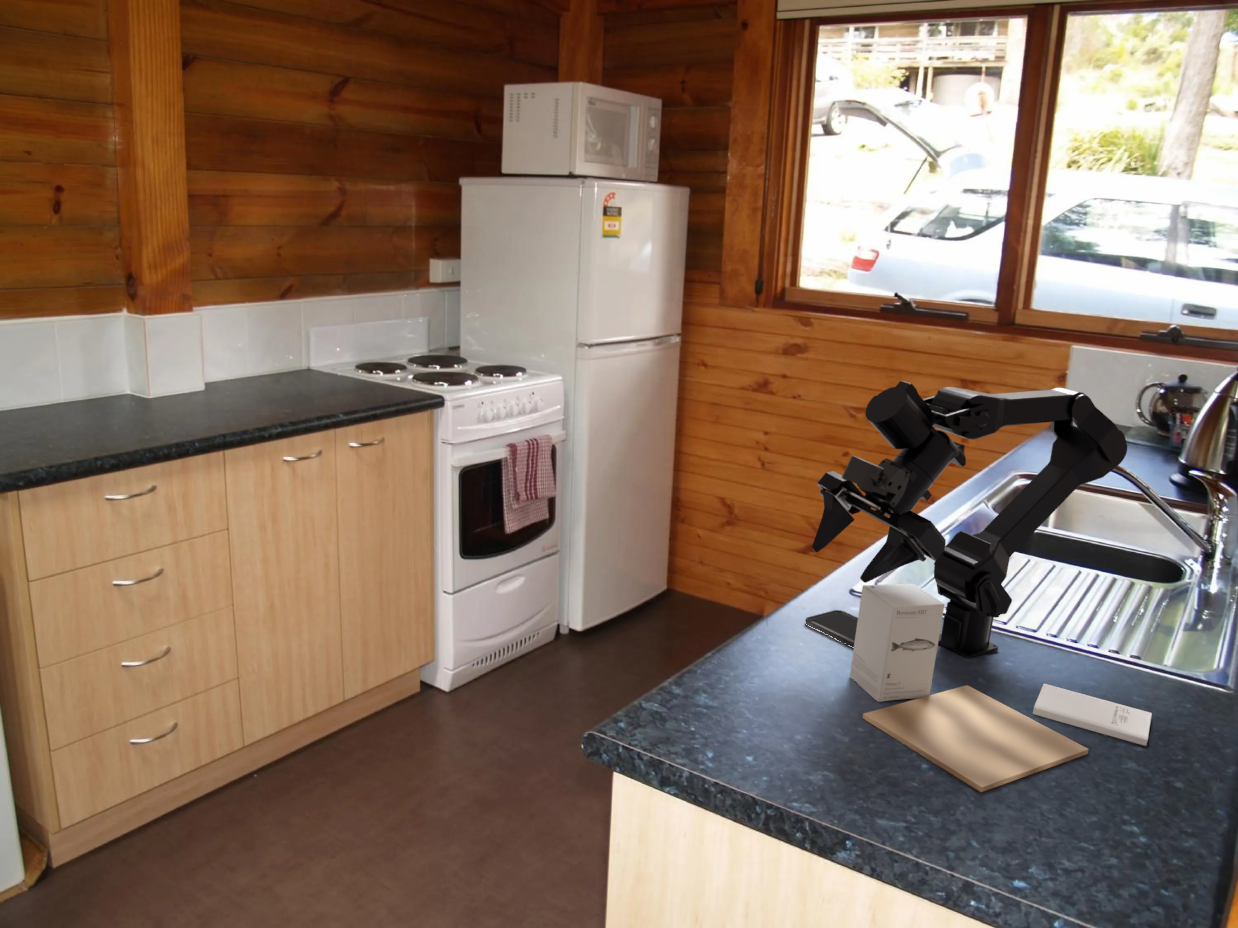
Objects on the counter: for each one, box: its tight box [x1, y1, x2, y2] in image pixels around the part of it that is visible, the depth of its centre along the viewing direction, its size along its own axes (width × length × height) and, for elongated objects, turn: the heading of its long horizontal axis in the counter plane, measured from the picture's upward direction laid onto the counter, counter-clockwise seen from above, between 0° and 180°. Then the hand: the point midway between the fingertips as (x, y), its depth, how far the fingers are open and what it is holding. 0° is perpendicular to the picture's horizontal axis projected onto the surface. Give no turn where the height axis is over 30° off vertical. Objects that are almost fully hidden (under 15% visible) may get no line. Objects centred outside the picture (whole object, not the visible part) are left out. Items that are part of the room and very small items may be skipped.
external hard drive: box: [1032, 683, 1153, 747], centre depth 123 cm, size 2×8×12 cm
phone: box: [805, 609, 858, 647], centre depth 142 cm, size 8×1×15 cm
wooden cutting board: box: [862, 685, 1089, 793], centre depth 116 cm, size 18×17×1 cm
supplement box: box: [849, 583, 946, 703], centre depth 125 cm, size 7×7×13 cm
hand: (837, 565), depth 129 cm, fingers open, 9 cm apart
